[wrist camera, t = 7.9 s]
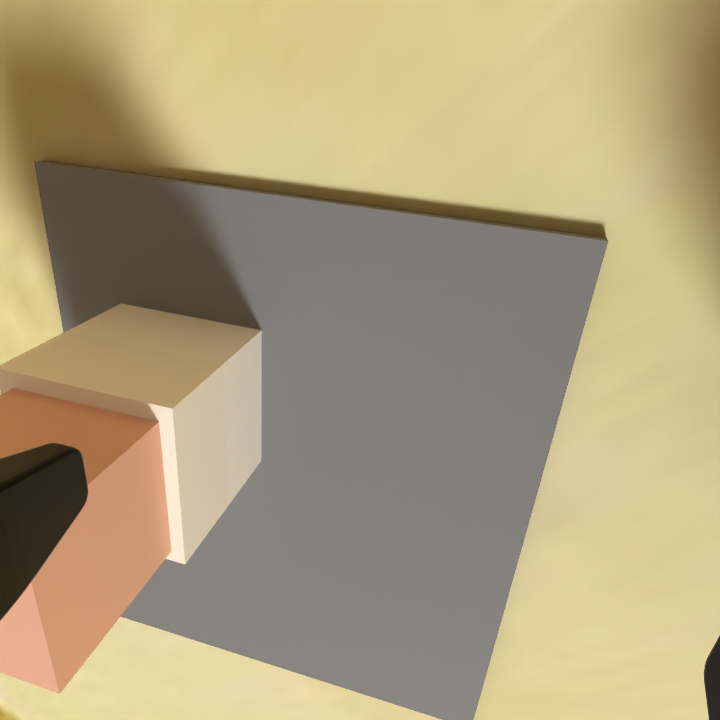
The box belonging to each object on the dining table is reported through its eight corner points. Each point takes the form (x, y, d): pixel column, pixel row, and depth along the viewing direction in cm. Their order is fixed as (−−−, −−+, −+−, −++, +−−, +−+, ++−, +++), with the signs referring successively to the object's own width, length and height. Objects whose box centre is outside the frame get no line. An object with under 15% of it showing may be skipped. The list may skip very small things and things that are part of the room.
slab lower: (261, 330, 21) (223, 363, 18) (261, 460, 24) (228, 505, 21) (121, 303, 22) (66, 331, 20) (136, 430, 25) (89, 469, 22)
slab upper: (223, 363, 18) (172, 408, 16) (228, 505, 21) (185, 564, 18) (66, 331, 20) (-5, 367, 17) (89, 469, 22) (30, 519, 20)
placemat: (606, 238, 17) (608, 241, 16) (471, 720, 28) (470, 728, 27) (42, 160, 21) (34, 162, 21) (116, 607, 32) (111, 613, 31)
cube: (159, 422, 16) (21, 543, 12) (171, 550, 18) (59, 693, 14) (13, 387, 17) (-164, 488, 13) (41, 513, 19) (-100, 636, 15)
